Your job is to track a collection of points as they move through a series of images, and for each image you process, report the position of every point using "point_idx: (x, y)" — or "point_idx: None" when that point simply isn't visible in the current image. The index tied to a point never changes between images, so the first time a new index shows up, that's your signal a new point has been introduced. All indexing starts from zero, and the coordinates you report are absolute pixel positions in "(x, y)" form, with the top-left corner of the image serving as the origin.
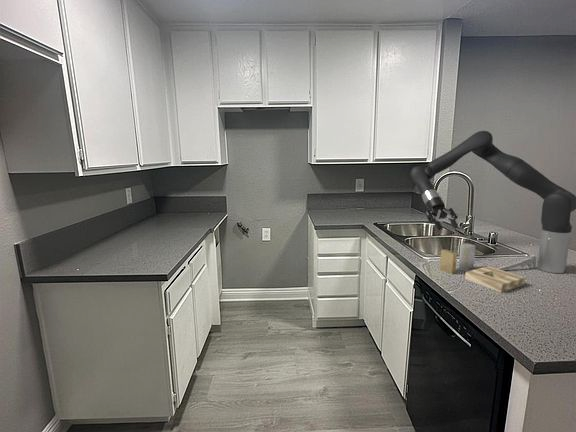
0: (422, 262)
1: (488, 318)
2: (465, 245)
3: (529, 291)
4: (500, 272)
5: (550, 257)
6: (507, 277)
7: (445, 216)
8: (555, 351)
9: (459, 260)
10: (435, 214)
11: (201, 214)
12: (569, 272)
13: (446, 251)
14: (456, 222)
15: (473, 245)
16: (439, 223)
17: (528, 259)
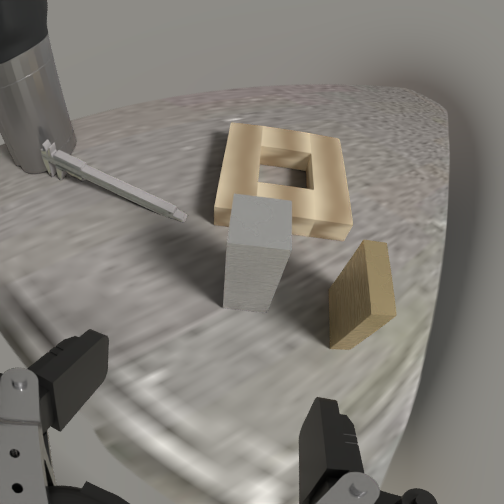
0: None
1: (439, 146)
2: (283, 224)
3: None
4: (248, 163)
5: (64, 107)
6: (275, 142)
7: (104, 492)
8: (415, 96)
9: (273, 294)
10: None
11: None
12: None
13: (391, 282)
14: (46, 355)
15: (241, 199)
16: (336, 442)
17: (66, 153)
